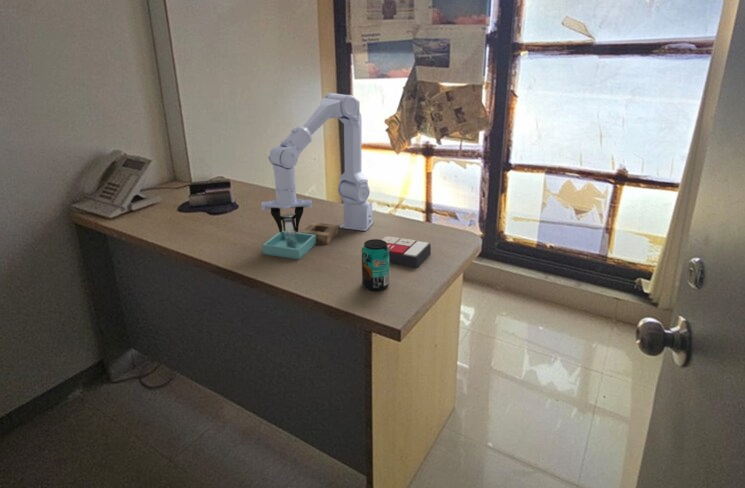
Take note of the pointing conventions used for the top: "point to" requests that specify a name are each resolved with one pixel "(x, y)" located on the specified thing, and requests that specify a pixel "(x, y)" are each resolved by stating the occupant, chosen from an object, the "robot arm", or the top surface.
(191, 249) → the top surface
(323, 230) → the hole block
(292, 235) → the steel pin
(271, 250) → the tray
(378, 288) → the beverage can
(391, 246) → the red white black box
